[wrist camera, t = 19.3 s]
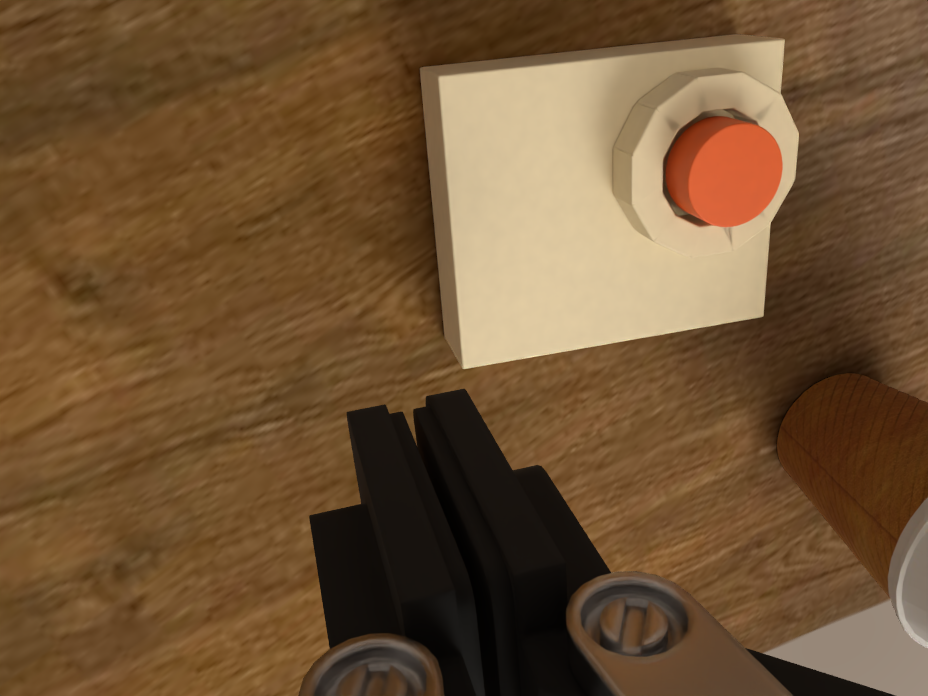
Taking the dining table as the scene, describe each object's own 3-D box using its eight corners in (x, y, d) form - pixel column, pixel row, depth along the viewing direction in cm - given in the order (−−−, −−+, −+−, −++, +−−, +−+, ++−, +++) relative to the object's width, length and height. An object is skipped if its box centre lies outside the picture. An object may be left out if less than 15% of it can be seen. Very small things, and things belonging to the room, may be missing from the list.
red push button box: (419, 67, 31) (448, 80, 27) (738, 33, 34) (814, 41, 29) (444, 338, 36) (473, 388, 31) (723, 291, 38) (787, 332, 34)
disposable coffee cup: (946, 397, 44) (1175, 530, 33) (826, 534, 46) (1006, 703, 35) (837, 307, 40) (1056, 426, 29) (710, 462, 42) (872, 626, 31)
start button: (666, 121, 29) (690, 129, 28) (759, 110, 30) (787, 117, 28) (663, 221, 31) (686, 234, 29) (752, 208, 32) (779, 220, 30)
